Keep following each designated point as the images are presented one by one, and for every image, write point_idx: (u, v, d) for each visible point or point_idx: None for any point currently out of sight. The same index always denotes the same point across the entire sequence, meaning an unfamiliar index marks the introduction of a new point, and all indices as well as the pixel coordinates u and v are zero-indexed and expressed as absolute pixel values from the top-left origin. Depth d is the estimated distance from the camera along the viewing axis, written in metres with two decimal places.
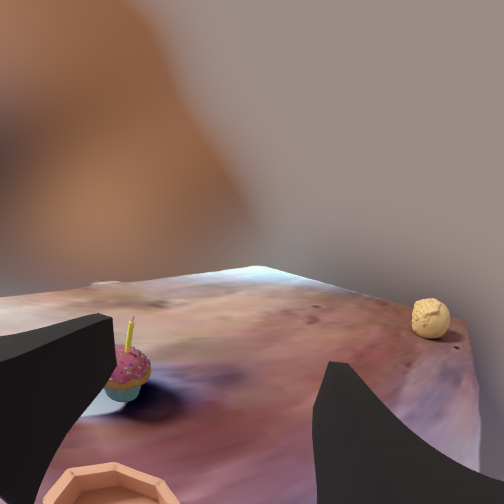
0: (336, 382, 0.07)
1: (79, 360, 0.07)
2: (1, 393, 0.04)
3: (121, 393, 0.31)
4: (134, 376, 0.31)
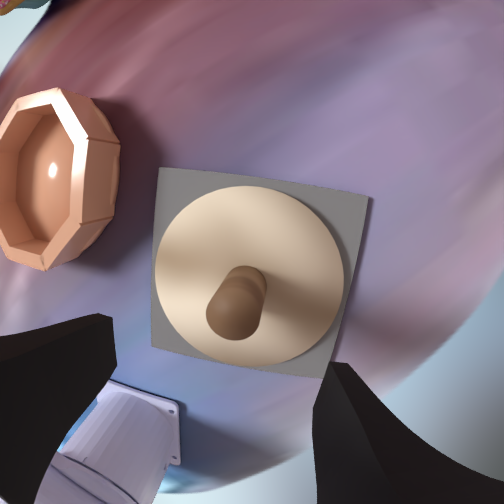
0: (336, 382, 0.07)
1: (79, 360, 0.07)
2: (1, 393, 0.04)
3: None
4: None
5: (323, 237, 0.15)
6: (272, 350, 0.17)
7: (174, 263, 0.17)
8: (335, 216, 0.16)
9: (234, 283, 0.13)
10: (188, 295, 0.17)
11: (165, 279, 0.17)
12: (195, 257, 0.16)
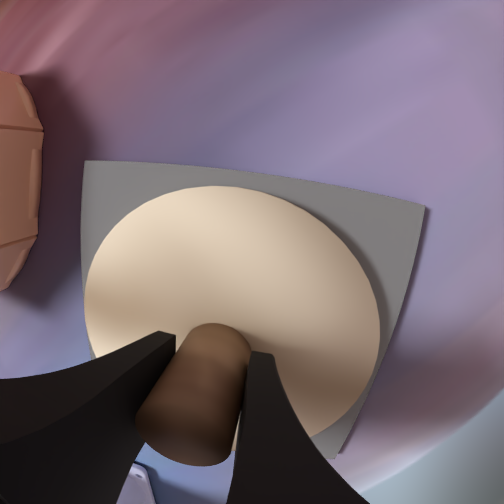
0: (248, 370, 0.07)
1: (148, 386, 0.07)
2: (78, 442, 0.04)
3: None
4: None
5: (350, 276, 0.08)
6: None
7: (108, 312, 0.10)
8: (371, 240, 0.09)
9: (184, 376, 0.06)
10: None
11: (100, 334, 0.10)
12: (136, 305, 0.09)
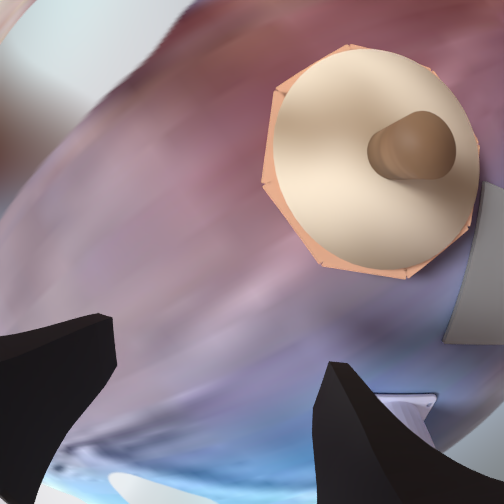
0: (336, 382, 0.07)
1: (79, 360, 0.07)
2: (1, 393, 0.04)
3: None
4: None
5: (453, 104, 0.11)
6: (423, 240, 0.13)
7: (301, 130, 0.12)
8: None
9: None
10: (321, 171, 0.12)
11: (288, 153, 0.12)
12: (329, 121, 0.12)
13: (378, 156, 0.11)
